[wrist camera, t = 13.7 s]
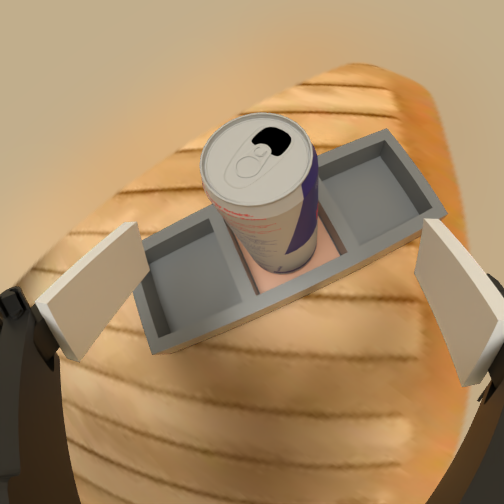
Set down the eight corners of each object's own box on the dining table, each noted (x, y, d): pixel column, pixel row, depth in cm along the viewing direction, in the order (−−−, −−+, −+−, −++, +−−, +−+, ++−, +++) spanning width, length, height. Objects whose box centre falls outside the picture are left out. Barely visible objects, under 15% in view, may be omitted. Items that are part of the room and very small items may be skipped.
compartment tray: (170, 353, 23) (152, 354, 20) (140, 260, 26) (122, 251, 23) (434, 227, 22) (447, 213, 19) (381, 148, 25) (386, 128, 22)
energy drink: (330, 235, 23) (342, 141, 11) (288, 289, 22) (263, 237, 11) (277, 199, 24) (247, 95, 13) (236, 248, 24) (172, 171, 13)
